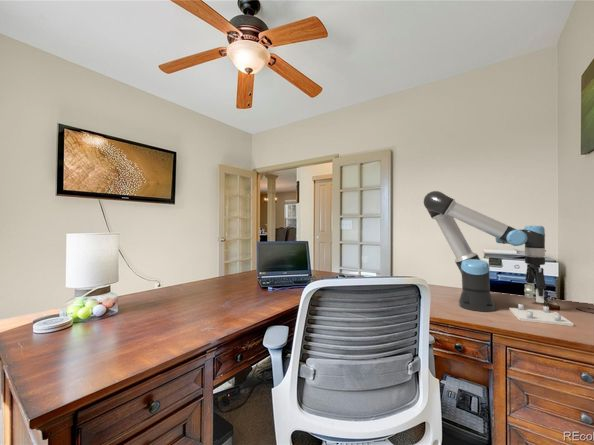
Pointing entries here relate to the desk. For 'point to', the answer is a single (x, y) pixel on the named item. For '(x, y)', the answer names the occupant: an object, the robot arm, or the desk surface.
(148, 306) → the desk surface
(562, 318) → the mounting plate
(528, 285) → the valve
